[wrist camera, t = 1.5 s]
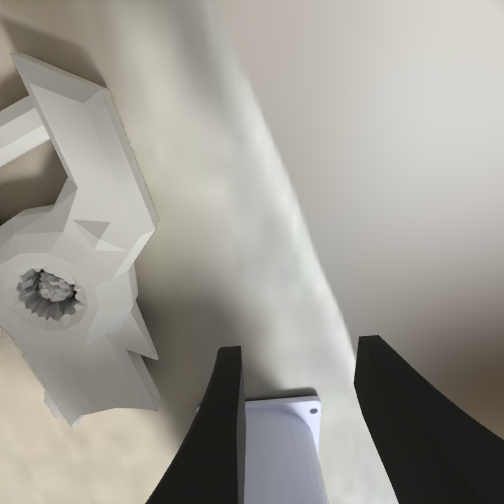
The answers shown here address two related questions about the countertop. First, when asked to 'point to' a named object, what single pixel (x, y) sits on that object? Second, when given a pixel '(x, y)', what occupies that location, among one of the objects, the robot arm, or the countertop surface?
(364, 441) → the countertop surface
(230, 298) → the countertop surface
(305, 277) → the countertop surface
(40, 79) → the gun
